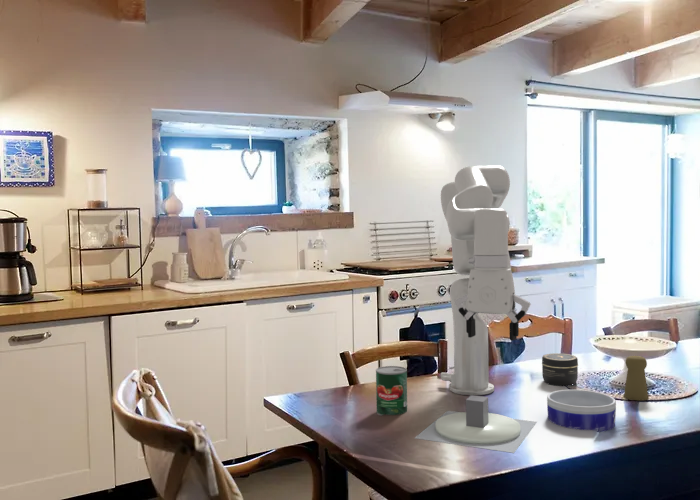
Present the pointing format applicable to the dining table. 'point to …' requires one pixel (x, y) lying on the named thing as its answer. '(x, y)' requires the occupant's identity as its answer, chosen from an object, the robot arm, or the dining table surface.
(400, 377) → the canned tomato
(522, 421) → the mat
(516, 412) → the dining table surface
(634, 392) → the olive pawn
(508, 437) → the lid
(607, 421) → the dog bowl
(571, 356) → the jar
